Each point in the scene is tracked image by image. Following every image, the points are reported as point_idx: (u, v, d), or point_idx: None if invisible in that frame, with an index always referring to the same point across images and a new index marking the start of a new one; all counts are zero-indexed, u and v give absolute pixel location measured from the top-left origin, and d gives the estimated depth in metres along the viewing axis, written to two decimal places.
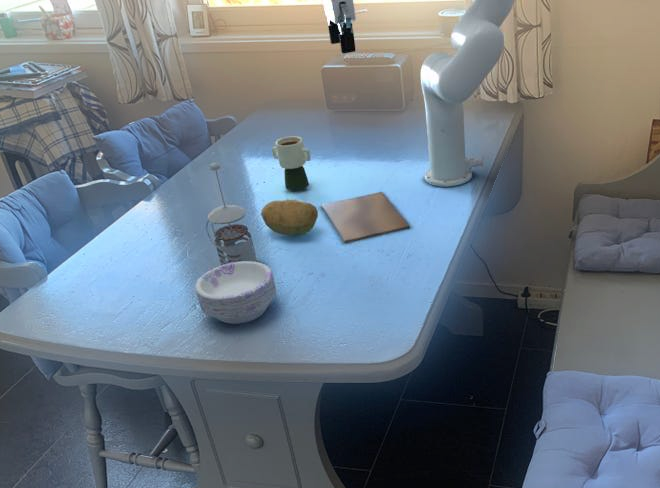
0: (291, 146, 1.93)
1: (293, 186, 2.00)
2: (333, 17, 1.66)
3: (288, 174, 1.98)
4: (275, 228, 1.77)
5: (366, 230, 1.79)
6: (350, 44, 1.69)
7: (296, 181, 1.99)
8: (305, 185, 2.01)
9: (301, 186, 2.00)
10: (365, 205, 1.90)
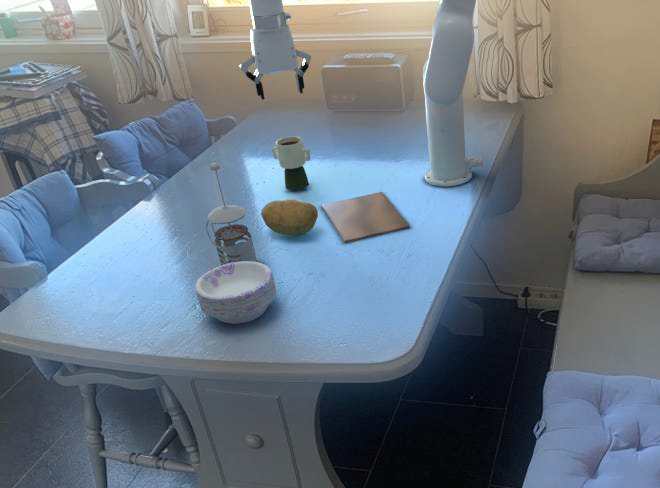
0: (291, 146, 1.93)
1: (293, 186, 2.00)
2: (292, 64, 1.83)
3: (288, 174, 1.98)
4: (275, 228, 1.77)
5: (366, 230, 1.79)
6: None
7: (296, 181, 1.99)
8: (305, 185, 2.01)
9: (301, 186, 2.00)
10: (365, 205, 1.90)
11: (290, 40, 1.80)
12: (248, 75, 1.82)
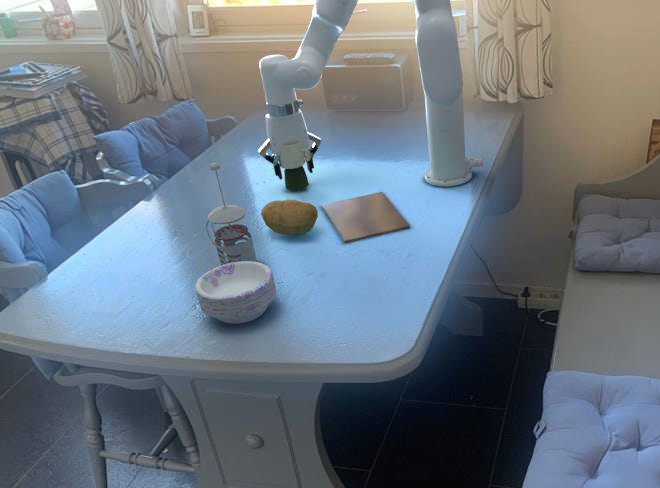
0: (291, 146, 1.93)
1: (293, 186, 2.00)
2: (305, 145, 1.95)
3: (288, 174, 1.98)
4: (275, 228, 1.77)
5: (366, 230, 1.79)
6: None
7: (296, 181, 1.99)
8: (305, 185, 2.01)
9: (301, 186, 2.00)
10: (365, 205, 1.90)
11: (303, 124, 1.92)
12: (267, 158, 1.95)
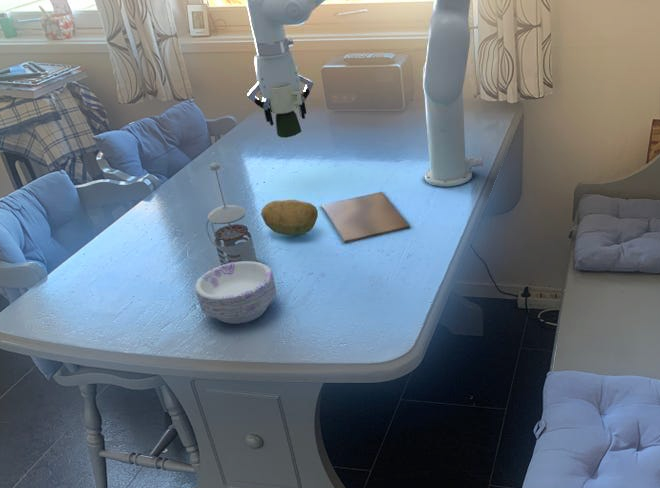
0: (281, 89, 1.84)
1: (284, 132, 1.91)
2: (296, 88, 1.87)
3: (279, 119, 1.90)
4: (275, 228, 1.77)
5: (366, 230, 1.79)
6: None
7: (287, 126, 1.90)
8: (297, 131, 1.92)
9: (293, 132, 1.92)
10: (365, 205, 1.90)
11: (293, 65, 1.84)
12: (257, 102, 1.86)
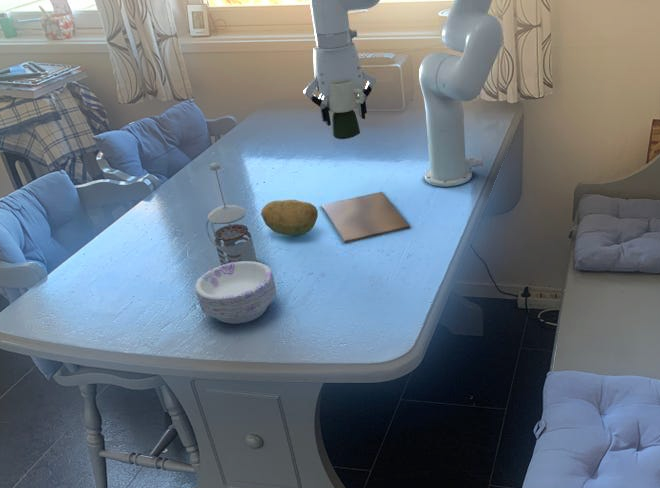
0: (342, 85, 1.66)
1: (342, 133, 1.72)
2: (358, 85, 1.68)
3: (337, 119, 1.71)
4: (275, 228, 1.77)
5: (366, 230, 1.79)
6: None
7: (346, 127, 1.72)
8: (356, 133, 1.74)
9: (352, 134, 1.73)
10: (365, 205, 1.90)
11: (356, 59, 1.65)
12: (314, 100, 1.68)
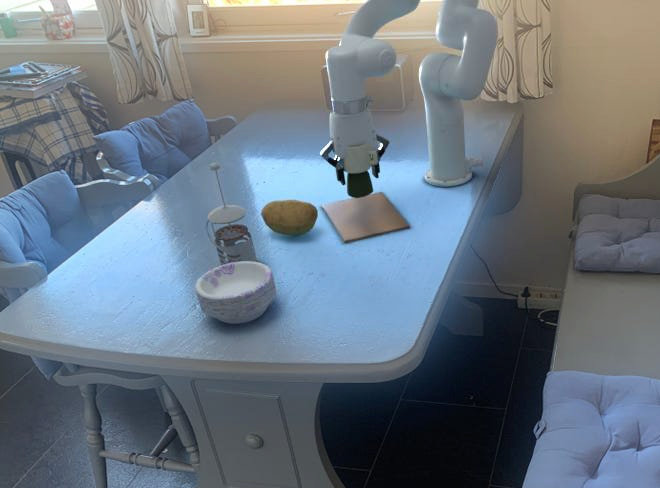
0: (357, 148, 1.72)
1: (356, 192, 1.79)
2: (372, 147, 1.75)
3: (352, 179, 1.77)
4: (275, 228, 1.77)
5: (366, 230, 1.79)
6: None
7: (360, 187, 1.78)
8: (370, 192, 1.80)
9: (366, 193, 1.79)
10: (365, 205, 1.90)
11: (371, 124, 1.72)
12: (330, 161, 1.74)
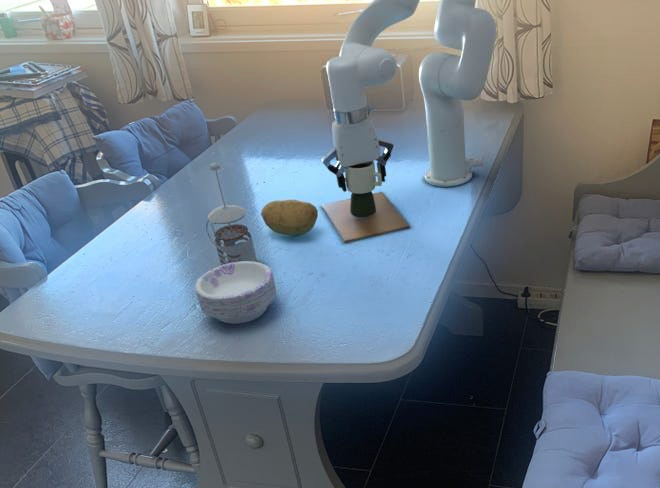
0: (362, 169, 1.75)
1: (359, 212, 1.82)
2: (375, 154, 1.76)
3: (355, 199, 1.81)
4: (275, 228, 1.77)
5: (366, 230, 1.79)
6: None
7: (363, 207, 1.81)
8: (373, 212, 1.83)
9: (368, 213, 1.82)
10: None
11: (373, 132, 1.73)
12: (330, 169, 1.75)
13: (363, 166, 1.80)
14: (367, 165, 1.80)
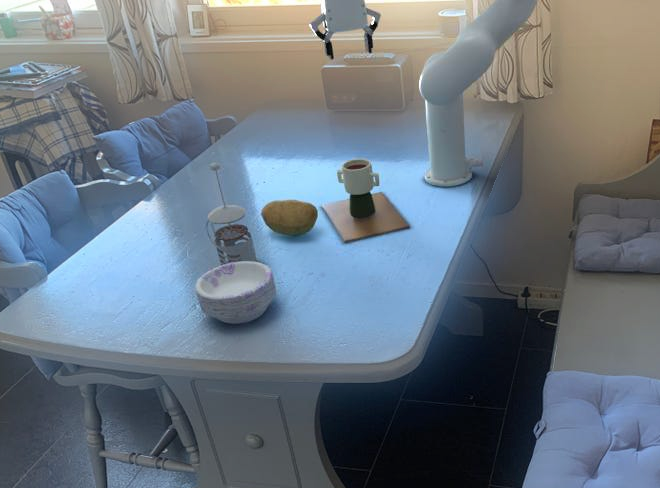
0: (359, 170, 1.75)
1: (359, 213, 1.82)
2: (362, 22, 1.80)
3: (354, 200, 1.81)
4: (275, 228, 1.77)
5: (366, 230, 1.79)
6: None
7: (362, 207, 1.81)
8: (372, 212, 1.83)
9: (367, 213, 1.82)
10: None
11: None
12: (318, 34, 1.79)
13: (360, 167, 1.80)
14: (364, 166, 1.80)
